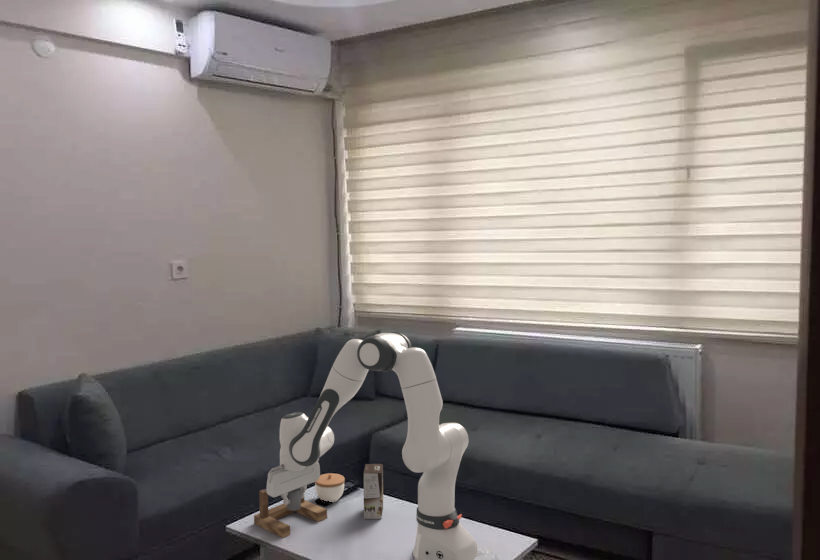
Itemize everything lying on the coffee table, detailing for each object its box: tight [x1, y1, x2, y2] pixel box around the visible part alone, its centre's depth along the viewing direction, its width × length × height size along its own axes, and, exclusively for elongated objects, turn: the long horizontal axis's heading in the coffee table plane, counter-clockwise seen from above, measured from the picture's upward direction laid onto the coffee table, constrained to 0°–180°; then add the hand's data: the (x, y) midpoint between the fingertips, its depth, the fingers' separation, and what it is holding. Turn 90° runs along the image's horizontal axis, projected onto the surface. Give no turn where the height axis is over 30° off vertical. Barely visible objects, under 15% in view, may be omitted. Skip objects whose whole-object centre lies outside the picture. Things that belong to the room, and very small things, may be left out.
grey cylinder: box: [286, 488, 301, 511], centre depth 229 cm, size 5×5×6 cm
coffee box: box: [363, 463, 384, 520], centre depth 237 cm, size 9×6×16 cm
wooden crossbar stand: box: [253, 487, 328, 539], centre depth 231 cm, size 15×19×12 cm
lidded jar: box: [314, 472, 346, 504], centre depth 249 cm, size 11×11×9 cm
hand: (294, 501), depth 229 cm, fingers closed on grey cylinder, 5 cm apart
